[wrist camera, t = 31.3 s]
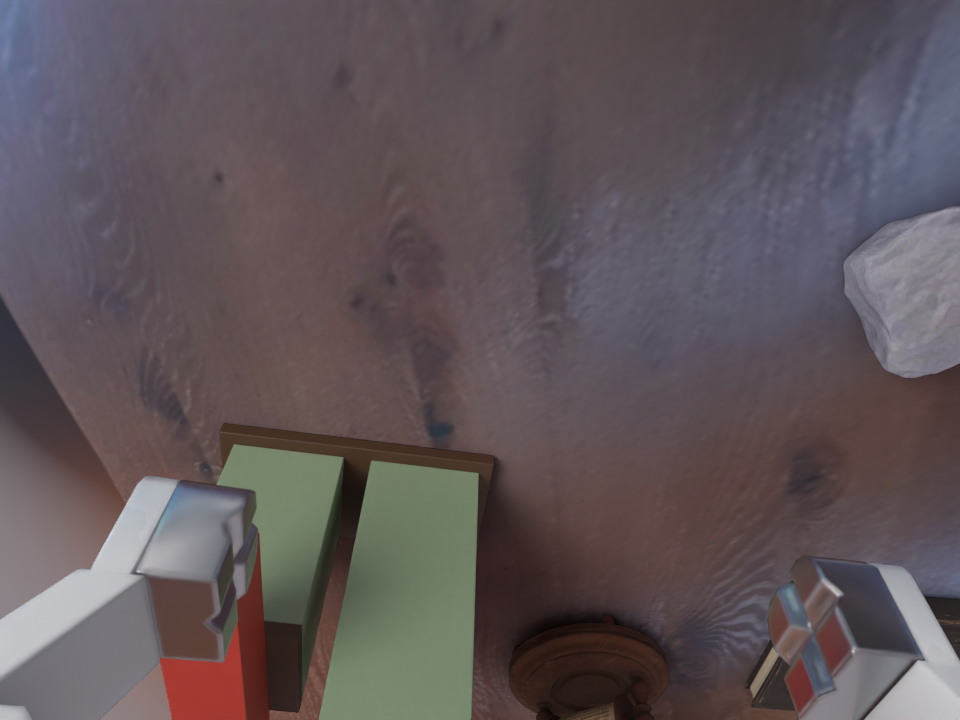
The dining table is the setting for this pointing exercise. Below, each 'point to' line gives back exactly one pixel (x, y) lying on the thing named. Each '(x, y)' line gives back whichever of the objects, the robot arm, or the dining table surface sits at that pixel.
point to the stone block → (910, 292)
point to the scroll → (589, 673)
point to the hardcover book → (769, 672)
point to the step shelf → (366, 567)
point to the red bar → (226, 670)
